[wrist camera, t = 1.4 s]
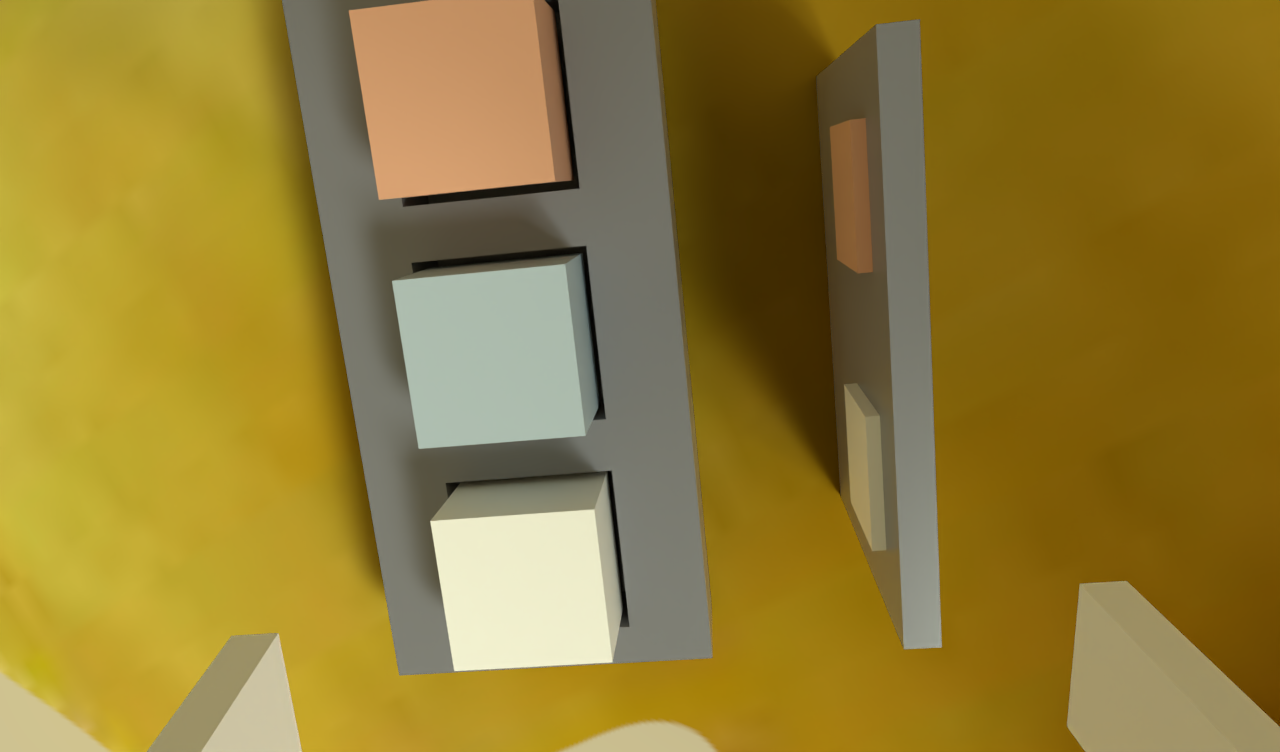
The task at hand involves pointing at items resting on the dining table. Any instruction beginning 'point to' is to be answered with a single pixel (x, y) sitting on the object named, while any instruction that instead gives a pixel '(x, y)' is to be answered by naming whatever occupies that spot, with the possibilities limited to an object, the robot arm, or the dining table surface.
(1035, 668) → the dining table surface
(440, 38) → the terracotta key
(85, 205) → the dining table surface
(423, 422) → the slate key
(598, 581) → the offwhite key
